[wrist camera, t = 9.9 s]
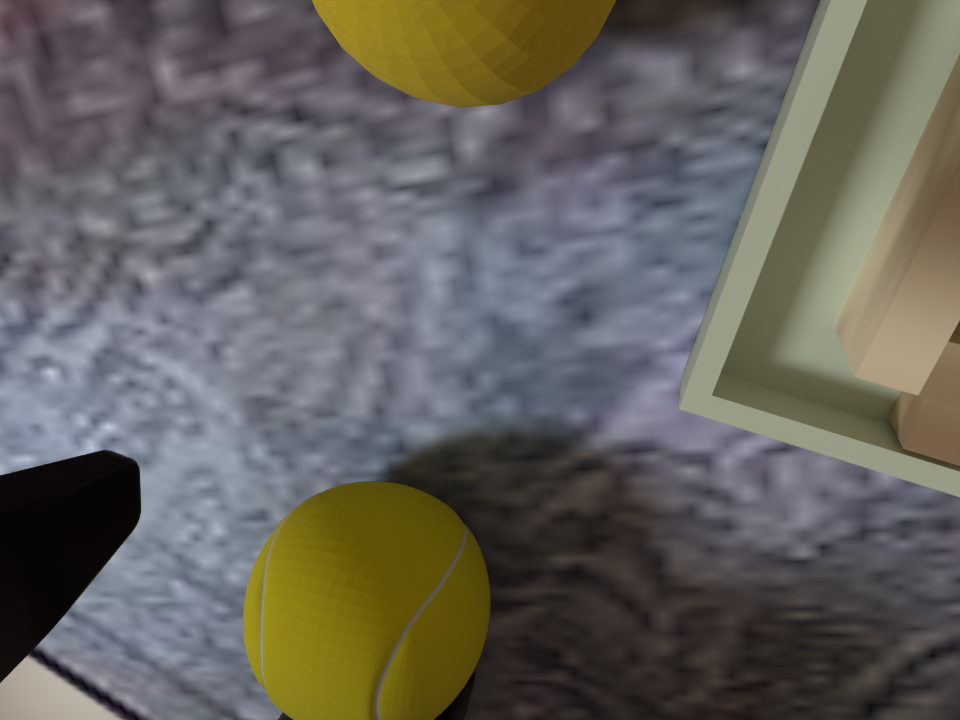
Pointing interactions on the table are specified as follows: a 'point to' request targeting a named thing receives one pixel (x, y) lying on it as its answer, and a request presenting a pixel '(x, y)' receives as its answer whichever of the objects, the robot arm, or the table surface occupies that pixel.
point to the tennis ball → (367, 606)
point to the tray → (824, 238)
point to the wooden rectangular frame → (916, 292)
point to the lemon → (465, 43)
